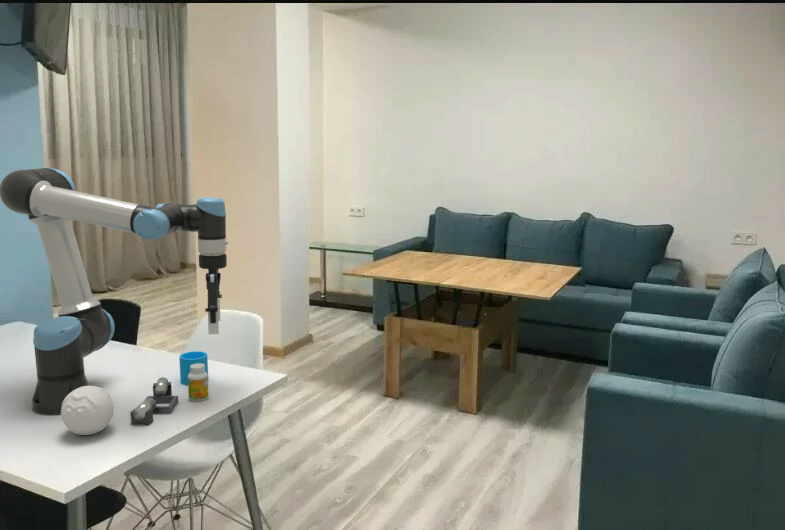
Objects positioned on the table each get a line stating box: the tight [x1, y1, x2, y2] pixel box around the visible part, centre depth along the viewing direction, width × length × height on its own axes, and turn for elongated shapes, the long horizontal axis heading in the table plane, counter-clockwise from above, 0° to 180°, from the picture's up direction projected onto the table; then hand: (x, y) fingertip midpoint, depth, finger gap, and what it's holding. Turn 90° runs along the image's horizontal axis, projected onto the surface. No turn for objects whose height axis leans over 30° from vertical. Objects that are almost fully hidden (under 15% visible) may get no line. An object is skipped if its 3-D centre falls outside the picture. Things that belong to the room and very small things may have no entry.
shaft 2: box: [152, 376, 173, 396], centre depth 191 cm, size 7×5×5 cm
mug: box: [178, 350, 209, 387], centre depth 206 cm, size 12×8×8 cm
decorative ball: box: [60, 385, 115, 436], centre depth 167 cm, size 12×12×12 cm
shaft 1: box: [129, 398, 158, 426], centre depth 176 cm, size 7×5×5 cm
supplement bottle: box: [187, 363, 209, 402], centre depth 190 cm, size 5×5×10 cm
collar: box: [144, 395, 179, 415], centre depth 184 cm, size 8×8×2 cm
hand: (214, 327), depth 192 cm, fingers open, 13 cm apart
